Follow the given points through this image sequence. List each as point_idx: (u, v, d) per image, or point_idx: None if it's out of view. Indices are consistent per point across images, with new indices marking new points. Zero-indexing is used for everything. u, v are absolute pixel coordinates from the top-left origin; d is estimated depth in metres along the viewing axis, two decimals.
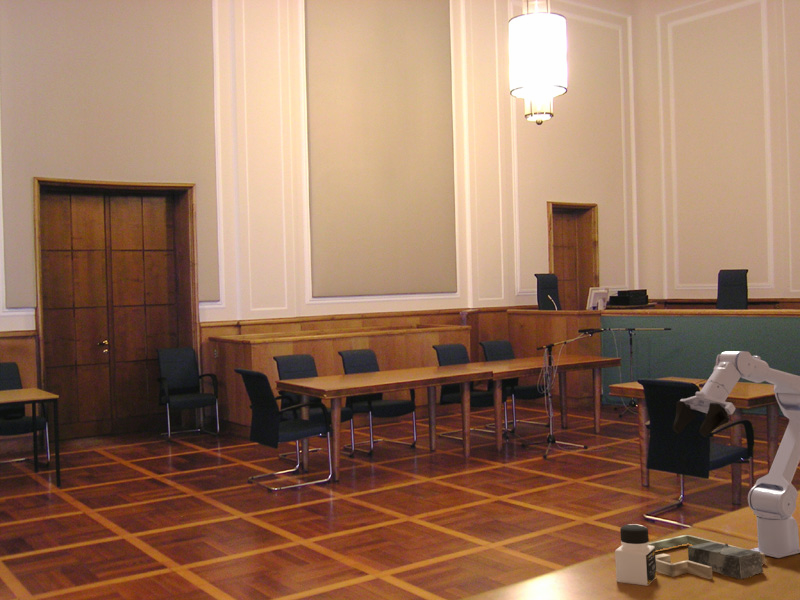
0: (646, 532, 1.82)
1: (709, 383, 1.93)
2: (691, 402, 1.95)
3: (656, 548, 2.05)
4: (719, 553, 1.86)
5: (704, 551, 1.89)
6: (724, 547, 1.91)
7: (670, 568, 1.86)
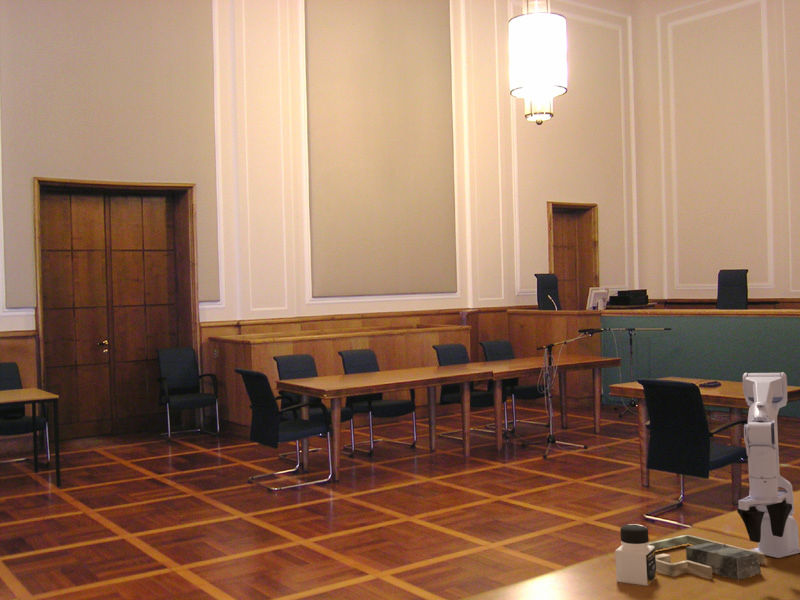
0: (646, 532, 1.82)
1: (774, 481, 1.78)
2: None
3: (656, 548, 2.05)
4: (717, 554, 1.85)
5: (702, 552, 1.89)
6: (722, 548, 1.90)
7: (670, 568, 1.86)
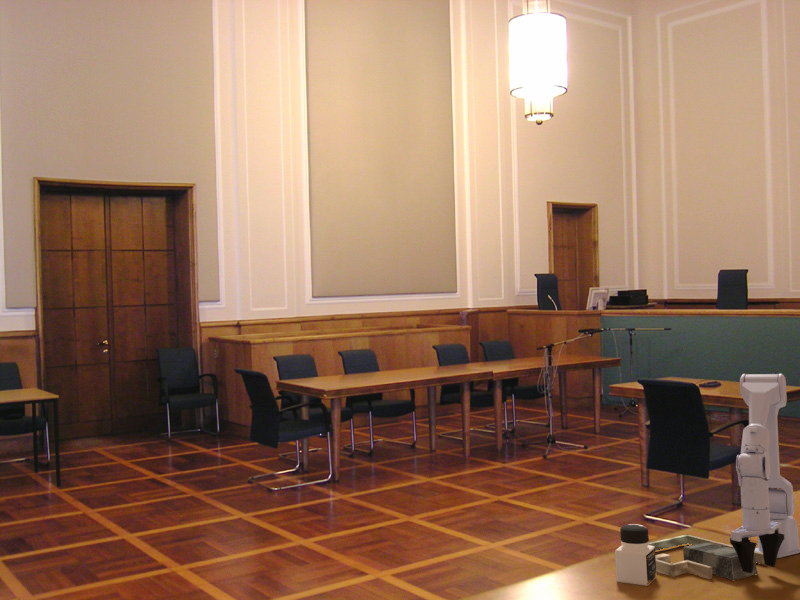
0: (646, 532, 1.82)
1: (766, 512, 1.80)
2: None
3: (656, 548, 2.05)
4: (712, 554, 1.85)
5: (698, 551, 1.89)
6: (719, 548, 1.90)
7: (670, 568, 1.86)
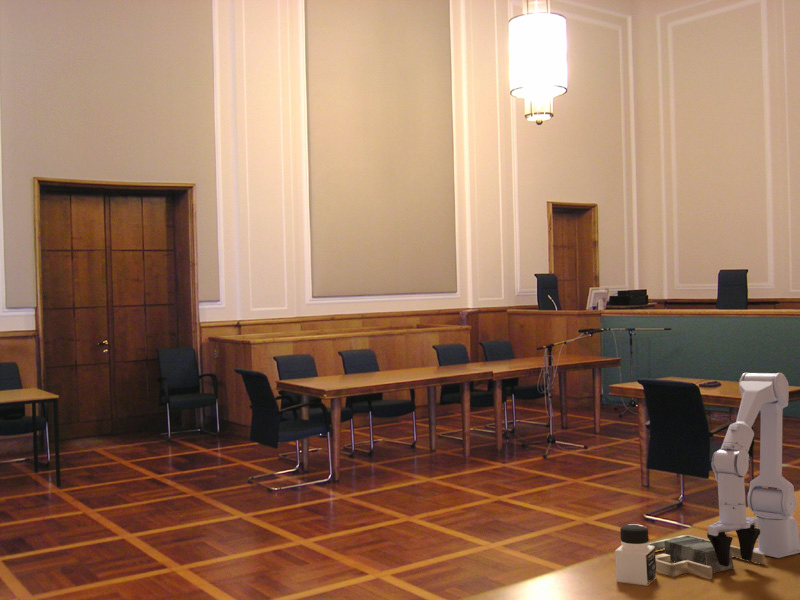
0: (646, 532, 1.82)
1: (742, 507, 1.86)
2: None
3: (656, 548, 2.05)
4: (689, 547, 1.91)
5: (677, 545, 1.95)
6: (699, 542, 1.95)
7: (670, 568, 1.86)
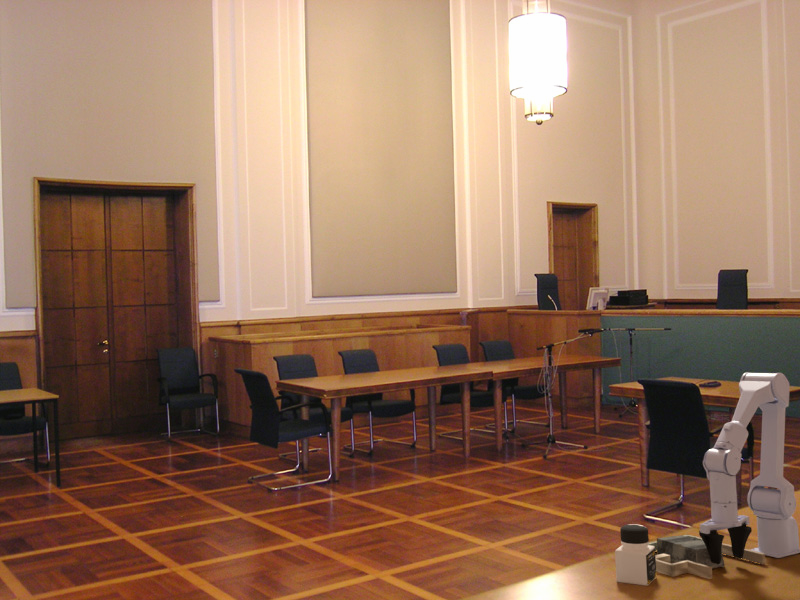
0: (646, 532, 1.82)
1: (734, 505, 1.88)
2: None
3: (656, 548, 2.05)
4: (680, 545, 1.93)
5: (669, 543, 1.97)
6: (690, 540, 1.97)
7: (670, 568, 1.86)
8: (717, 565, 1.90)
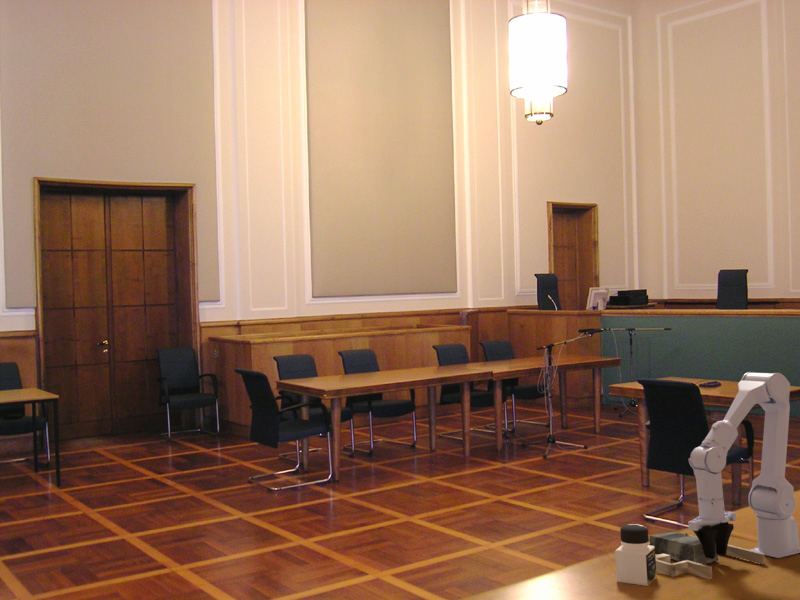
0: (646, 532, 1.82)
1: (720, 502, 1.92)
2: None
3: None
4: (676, 541, 1.96)
5: (663, 540, 2.00)
6: (683, 536, 2.01)
7: (670, 568, 1.86)
8: (712, 560, 1.94)
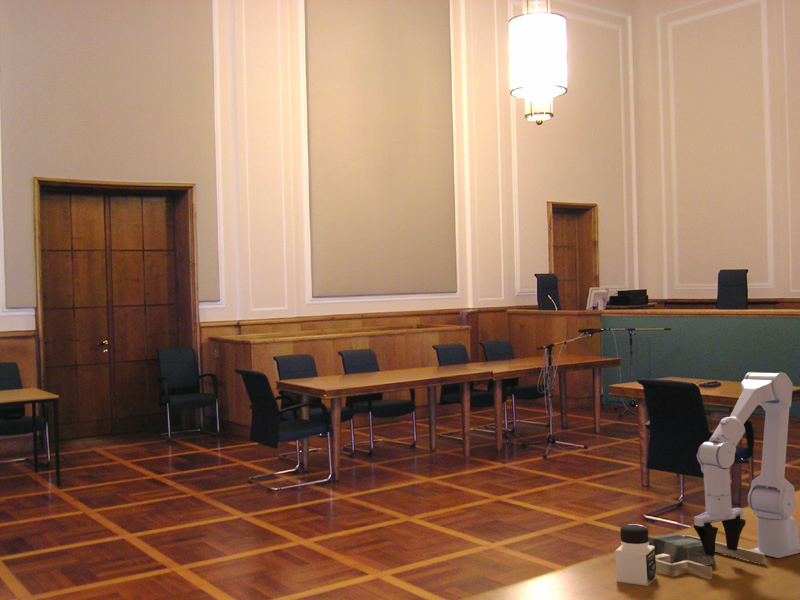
0: (646, 532, 1.82)
1: (728, 498, 1.89)
2: None
3: None
4: (672, 543, 1.96)
5: (661, 541, 1.99)
6: (682, 538, 2.00)
7: (670, 568, 1.86)
8: (708, 563, 1.93)
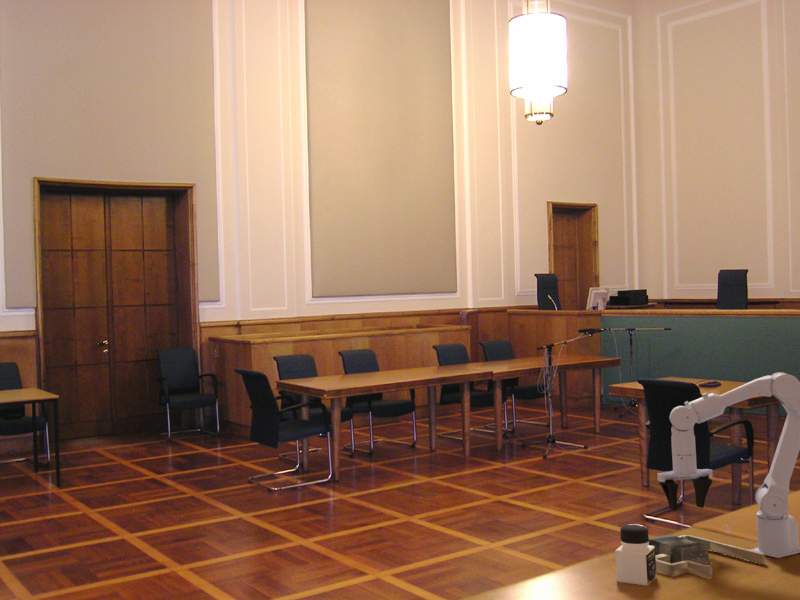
0: (646, 532, 1.82)
1: (690, 458, 2.05)
2: (673, 476, 2.05)
3: None
4: (666, 544, 1.95)
5: (656, 542, 1.99)
6: (677, 539, 1.99)
7: (670, 568, 1.86)
8: (703, 564, 1.92)
